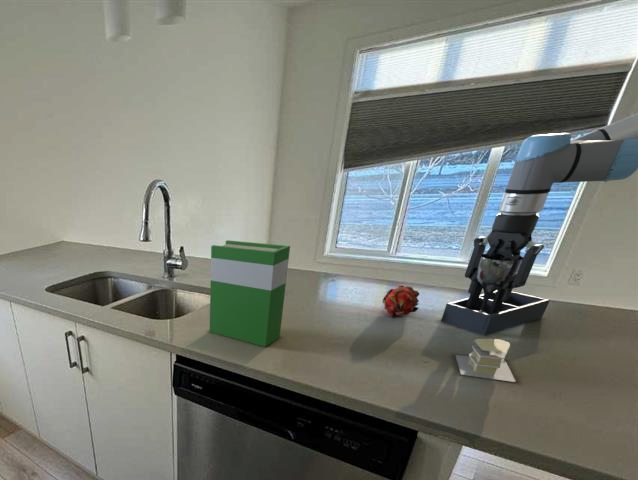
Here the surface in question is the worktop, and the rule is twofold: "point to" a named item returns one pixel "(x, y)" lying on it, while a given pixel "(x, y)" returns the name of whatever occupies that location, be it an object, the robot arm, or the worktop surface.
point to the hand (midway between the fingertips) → (482, 309)
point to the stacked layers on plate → (486, 360)
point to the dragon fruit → (401, 301)
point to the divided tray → (510, 314)
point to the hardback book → (248, 290)
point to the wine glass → (494, 274)
